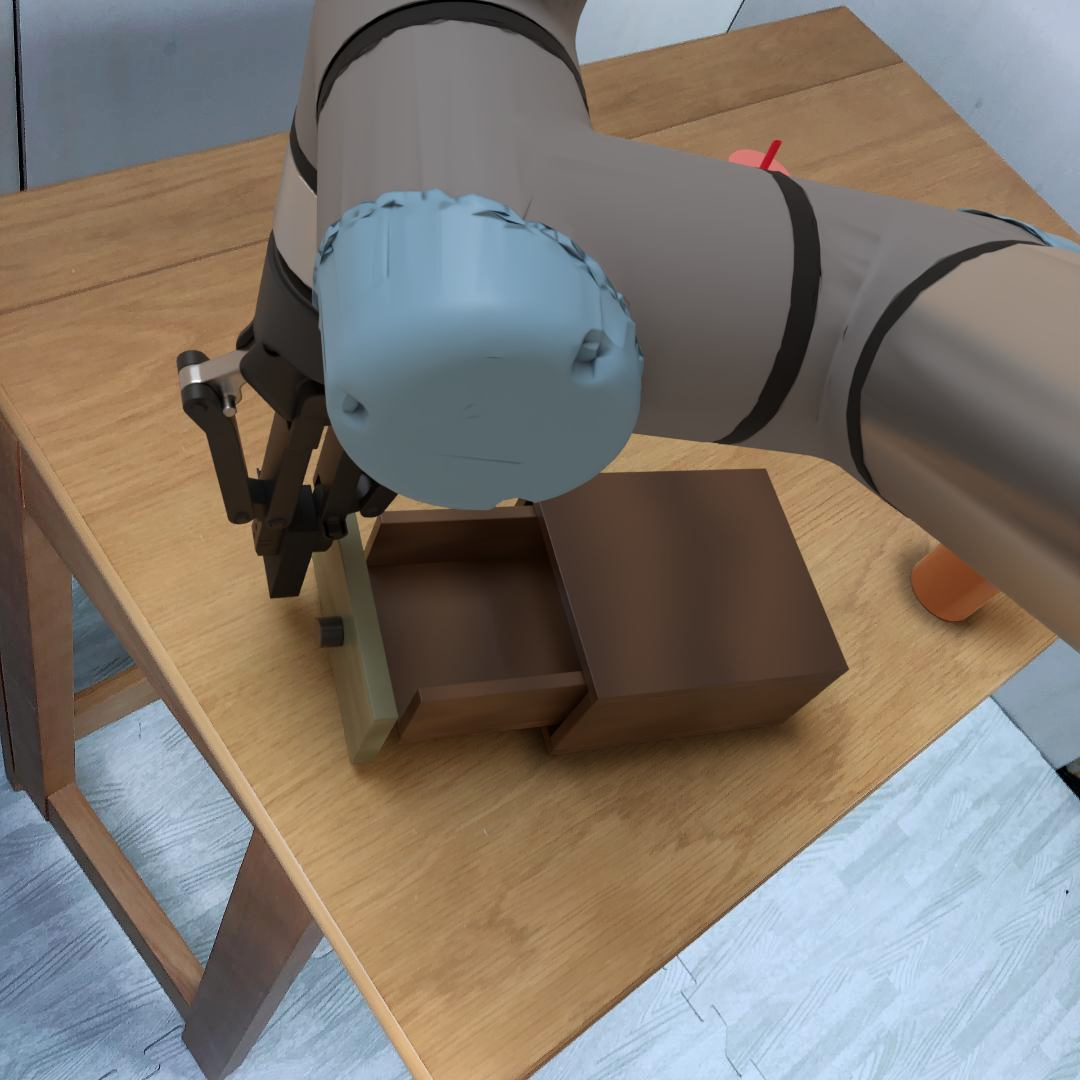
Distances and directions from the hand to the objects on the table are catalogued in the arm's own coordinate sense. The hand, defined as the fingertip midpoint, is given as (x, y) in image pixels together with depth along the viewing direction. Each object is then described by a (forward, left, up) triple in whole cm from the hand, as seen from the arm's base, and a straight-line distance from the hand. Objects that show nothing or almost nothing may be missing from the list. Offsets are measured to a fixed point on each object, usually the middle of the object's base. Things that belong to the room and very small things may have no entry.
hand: (280, 575), depth 61 cm
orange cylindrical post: (+15, -43, -3) cm, 46 cm away
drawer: (0, -10, -2) cm, 10 cm away
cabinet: (+5, -21, -3) cm, 22 cm away
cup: (+40, -24, -3) cm, 47 cm away
